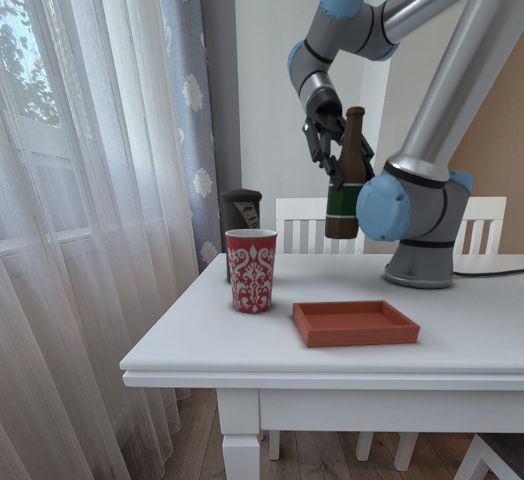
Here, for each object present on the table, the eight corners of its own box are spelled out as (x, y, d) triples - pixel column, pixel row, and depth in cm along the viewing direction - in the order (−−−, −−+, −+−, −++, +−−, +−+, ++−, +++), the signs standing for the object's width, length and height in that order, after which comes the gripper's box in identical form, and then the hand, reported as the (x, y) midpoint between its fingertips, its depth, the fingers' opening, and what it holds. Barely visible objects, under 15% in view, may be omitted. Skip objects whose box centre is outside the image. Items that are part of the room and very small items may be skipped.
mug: (280, 313, 53) (282, 235, 47) (230, 316, 52) (226, 236, 46) (268, 292, 64) (269, 226, 58) (227, 294, 63) (223, 227, 57)
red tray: (381, 313, 54) (384, 300, 52) (416, 342, 44) (420, 326, 42) (292, 316, 52) (292, 302, 51) (306, 347, 42) (308, 331, 41)
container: (255, 287, 68) (254, 188, 58) (219, 284, 70) (213, 188, 60) (266, 278, 75) (267, 188, 65) (234, 275, 77) (230, 188, 68)
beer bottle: (317, 236, 71) (328, 110, 59) (343, 234, 74) (358, 113, 62) (336, 240, 65) (352, 100, 53) (364, 238, 67) (385, 105, 56)
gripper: (348, 125, 74) (382, 199, 68) (275, 118, 66) (307, 200, 61) (366, 92, 67) (406, 171, 61) (287, 80, 60) (324, 169, 54)
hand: (356, 185), depth 61 cm, fingers closed on beer bottle, 7 cm apart
